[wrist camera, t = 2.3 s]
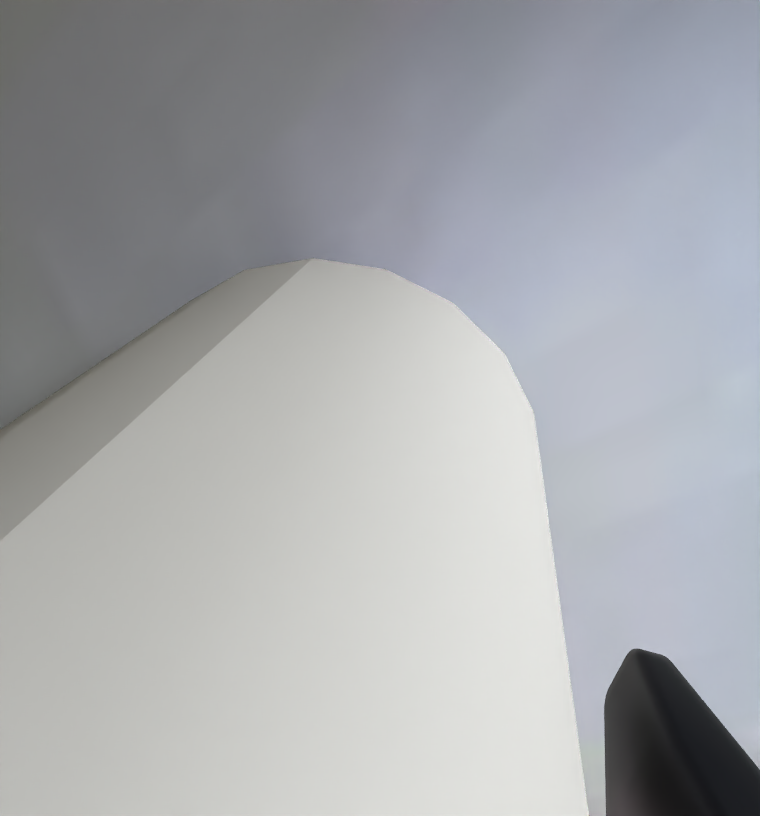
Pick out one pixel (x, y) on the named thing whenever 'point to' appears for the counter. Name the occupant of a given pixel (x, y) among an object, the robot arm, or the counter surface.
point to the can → (285, 569)
